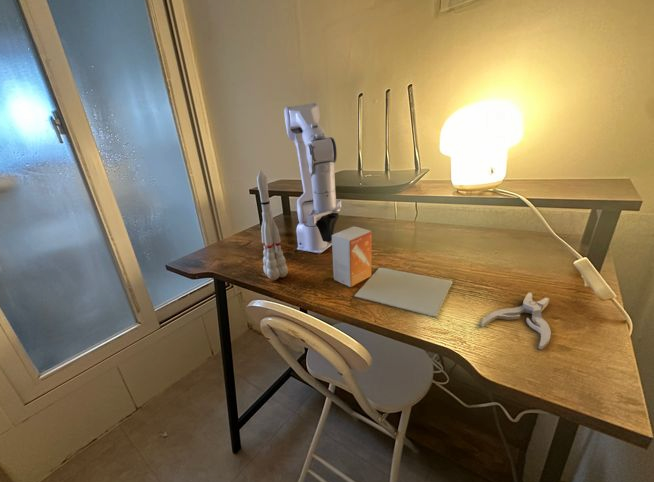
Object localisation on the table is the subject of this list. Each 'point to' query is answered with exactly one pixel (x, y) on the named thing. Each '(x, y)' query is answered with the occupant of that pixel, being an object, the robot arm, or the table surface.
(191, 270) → the table surface
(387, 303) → the mat
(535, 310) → the pliers
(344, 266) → the small box
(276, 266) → the rocket model
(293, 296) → the table surface
